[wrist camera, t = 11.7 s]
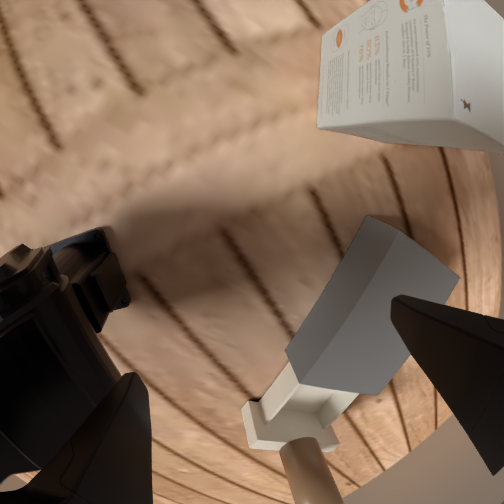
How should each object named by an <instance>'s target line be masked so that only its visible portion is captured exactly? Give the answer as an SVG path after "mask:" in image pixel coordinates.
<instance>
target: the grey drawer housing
mask: <svg viewBox="0 0 504 504" xmlns="http://www.w3.org/2000/svg"><path fill="white" fill-rule="evenodd" d="M459 279H460V277H459V276H458V275H457V274H456V273H454V272H453V271H452V270H451V269H449V268H448V267H447V266H446V265H445V264H443V263H442V262H441V261H440V260H438V259H437V258H436V257H434V256H433V255H432V254H431V253H429V252H428V251H427V250H425V249H424V248H423V247H422V246H420V245H419V244H418V243H416V242H415V241H414V240H412V239H411V238H409V237H408V236H407V235H405V234H404V233H403V232H401V231H400V230H398V229H396V228H394V227H392V226H390V225H388V224H386V223H384V222H381V221H379V220H377V219H375V218H373V217H371V216H369V215H367V216H366V218H365V220H364V221H363V223H362V225H361V227H360V229H359V231H358V232H357V234H356V236H355V238H354V240H353V241H352V243H351V245H350V247H349V249H348V250H347V252H346V254H345V256H344V257H343V259H342V261H341V262H340V264H339V266H338V268H337V269H336V271H335V273H334V274H333V276H332V278H331V279H330V281H329V283H328V284H327V286H326V288H325V289H324V291H323V292H322V294H321V296H320V297H319V299H318V301H317V302H316V304H315V305H314V307H313V308H312V310H311V312H310V313H309V315H308V316H307V318H306V319H305V321H304V322H303V324H302V325H301V327H300V329H299V330H298V332H297V333H296V335H295V336H294V338H293V339H292V341H291V342H290V344H289V345H288V346H287V348H286V349H285V352H286V354H287V357H288V359H289V361H290V364H291V366H292V368H293V371H294V373H295V375H296V377H297V380H298V382H299V384H303V385H309V386H314V387H320V388H326V389H332V390H338V391H345V392H352V393H360V394H368V395H378V394H379V393H380V392H381V391H382V389H383V388H384V387H385V386H386V385H387V384H388V382H389V381H390V380H391V379H392V378H393V376H394V375H395V374H396V373H397V371H398V370H399V369H400V368H401V366H402V365H403V364H404V363H405V361H406V360H407V359H408V357H409V356H410V355H411V354H410V352H409V350H408V349H407V347H406V345H405V344H404V342H403V340H402V339H401V337H400V335H399V334H398V332H397V330H396V329H395V327H394V326H393V324H392V322H391V319H390V311H391V300H392V298H393V297H395V296H398V295H400V294H403V295H407V296H411V297H415V298H419V299H423V300H427V301H431V302H435V303H439V304H443V305H445V303H446V301H447V300H448V298H449V296H450V294H451V293H452V291H453V289H454V288H455V286H456V284H457V282H458V280H459Z"/></svg>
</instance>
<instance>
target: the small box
mask: <svg viewBox="0 0 504 504" xmlns="http://www.w3.org/2000/svg"><path fill="white" fill-rule="evenodd" d="M317 128H318V129H324V130H329V131H335V132H340V133H345V134H349V135H354V136H358V137H363V138H367V139H371V140H375V141H379V142H383V143H395V144H411V145H425V146H439V147H450V148H459V149H467V150H476V151H483V152H490V153H497V154H503V155H504V19H503V18H502V17H501V16H500V15H499V14H498V13H497V12H496V11H495V10H494V9H493V8H492V7H490V6H489V5H488V4H487V3H486V2H485V1H484V0H370V1H369V2H367V3H366V4H364V5H363V6H361V7H360V8H358V9H357V10H355V11H354V12H353V13H351V14H350V15H348V16H347V17H346V18H344V19H343V20H342V21H340V22H339V23H338V24H336V25H335V26H334V27H332V28H331V29H330V30H328V31H327V32H326V33H325V34H323V35H322V47H321V69H320V85H319V102H318V116H317Z"/></svg>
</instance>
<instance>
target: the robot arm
mask: <svg viewBox="0 0 504 504" xmlns="http://www.w3.org/2000/svg"><path fill="white" fill-rule="evenodd" d="M96 233H99V234H100V238H98V237H96ZM125 285H126V280H125V278H124V275H123V273H122V270H121V268H120V265H119V263H118V260H117V258H116V255H115V253H113V252H111V249H110V247H109V244H108V241H107V238H106V236H105V233H104V231H103V230H102V229H101V228H95V229H92V230H89V231H87V232H84V233H81V234H78V235H76V236H73V237H70V238H67V239H65V240H62V241H60V242H57V243H54V244H52V245H49V246H47V247H44V248H42V247H41V248H38V249H35V250H33V249H30V248H28V247H27V246H25V245H24V244H21V245H19V246H16V247H15V248H13V249H12V250H11V251H9V252H8V253H6V254H5V255H4V256H2V257H1V258H0V485H1V484H2V483H3V482H4V481H5V480H6V479H7V478H8V477H9V476H11V475H13V474H20V473H27V472H33V471H39V470H41V471H40V472H39V473H38V474H37V475H36V476H35V477H34V478H33V479H32V480H31V481H30V482H29V483H28V484H27V485H25V486H24V487H22V488H20V489H18V490H14V491H7V492H0V504H153V493H152V430H151V419H150V408H149V395H148V390H147V388H146V386H145V385H144V383H143V381H142V380H141V378H140V377H139V375H138V374H137V373H136V372H130V373H125V374H124V375H123V376H121V374H120V372H119V371H118V369H117V368H116V366H115V365H114V363H113V361H112V360H111V358H110V356H109V355H108V353H107V351H106V350H105V348H104V346H103V345H102V343H101V341H100V339H99V338H98V336H97V334H96V333H99V332H101V331H102V328H103V326H104V324H105V322H106V319H107V317H108V315H109V313H111V312H113V311H114V310H117V309H121V308H125V307H128V306H129V305H130V302H131V299H130V296H129V294H128V291H127V289H126V287H125ZM122 299H125V300H126V301H127V302H123V301H122ZM390 319H391V322H392V324H393V326H394V327H395V329H396V330H397V332H398V334H399V335H400V337H401V339H402V340H403V342H404V344H405V345H406V347H407V349H408V350H409V352H410V354H411V355H412V356H413V358H414V359H415V360H416V362H417V363H418V364H419V366H420V367H421V369H422V370H423V371H424V373H425V374H426V375H427V377H428V378H429V379H430V381H431V382H432V384H433V385H434V386H435V388H436V389H437V391H438V392H439V393H440V395H441V396H442V398H443V399H444V401H445V402H446V403H447V405H448V406H449V408H450V409H451V411H452V412H453V414H454V415H455V417H456V418H457V420H458V421H459V423H460V424H461V426H462V427H463V429H464V430H465V431H466V433H467V435H468V436H469V438H470V440H471V441H472V443H473V444H474V446H475V447H476V449H477V451H478V452H479V454H480V456H481V457H482V459H483V460H484V462H485V464H486V465H487V467H488V469H489V470H490V472H491V474H492V475H493V476H494V475H495V474H496V473H497V472H499V471H500V470H501V469H502V468H503V467H504V320H503V319H499V318H495V317H491V316H487V315H482V314H479V313H475V312H471V311H467V310H463V309H459V308H455V307H451V306H447V305H443V304H439V303H435V302H431V301H427V300H423V299H419V298H415V297H411V296H407V295H403V294H400V295H398V296H395V297H393V298H392V300H391V311H390ZM501 504H504V501H503V502H502V503H501Z"/></svg>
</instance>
